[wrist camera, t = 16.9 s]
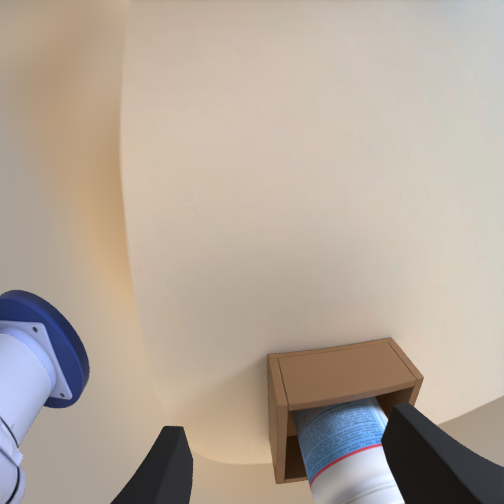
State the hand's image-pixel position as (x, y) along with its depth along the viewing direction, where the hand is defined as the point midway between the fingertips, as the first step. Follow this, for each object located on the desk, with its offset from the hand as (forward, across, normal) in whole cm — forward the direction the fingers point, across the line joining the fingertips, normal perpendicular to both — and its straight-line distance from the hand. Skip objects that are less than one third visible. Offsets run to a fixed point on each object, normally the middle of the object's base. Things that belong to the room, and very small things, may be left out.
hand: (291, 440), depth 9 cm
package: (+10, -5, +8) cm, 14 cm away
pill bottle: (+10, -5, +8) cm, 14 cm away
